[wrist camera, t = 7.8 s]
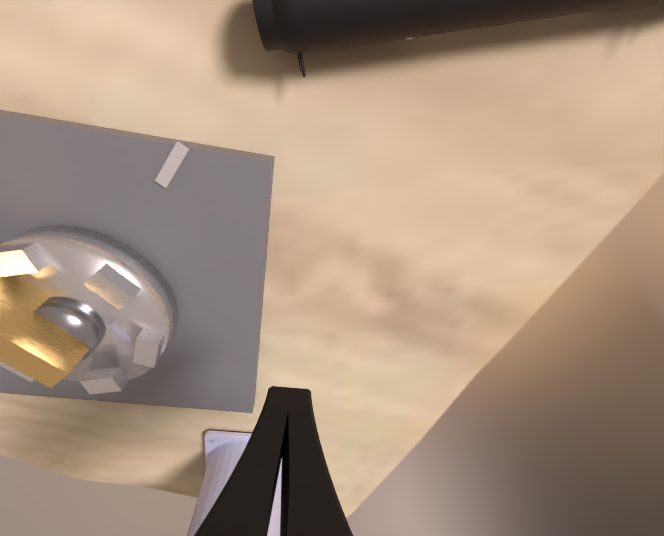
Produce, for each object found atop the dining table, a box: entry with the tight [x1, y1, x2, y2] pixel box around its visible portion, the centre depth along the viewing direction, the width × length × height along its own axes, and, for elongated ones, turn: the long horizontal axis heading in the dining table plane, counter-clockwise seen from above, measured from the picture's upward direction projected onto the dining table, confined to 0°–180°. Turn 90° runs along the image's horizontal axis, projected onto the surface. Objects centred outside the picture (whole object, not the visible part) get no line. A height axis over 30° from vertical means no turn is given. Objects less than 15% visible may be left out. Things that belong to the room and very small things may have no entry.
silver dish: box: [0, 225, 178, 394], centre depth 17 cm, size 14×10×5 cm
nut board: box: [0, 110, 274, 413], centre depth 20 cm, size 20×20×1 cm
